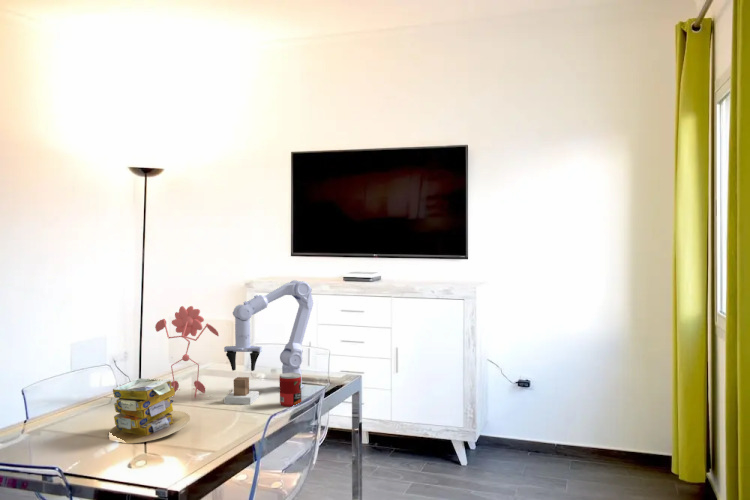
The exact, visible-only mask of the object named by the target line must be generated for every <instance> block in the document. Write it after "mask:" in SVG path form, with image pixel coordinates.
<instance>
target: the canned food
mask: <svg viewBox="0 0 750 500" xmlns="http://www.w3.org/2000/svg"><path fill="white" fill-rule="evenodd" d="M300 402H301V403H302V388H301V374H299V373H283V374H282V373H281V374H279V403H280V406H281V407H285V408H286V407H287V408H292V407H291V406H293V405H296V404H298V403H300Z"/></svg>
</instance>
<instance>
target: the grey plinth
mask: <svg viewBox="0 0 750 500" xmlns="http://www.w3.org/2000/svg"><path fill="white" fill-rule="evenodd" d="M259 394H260V392H259V391H257V390H249V394H247V395H246V396H234V390H233V391H232V392H229V393H227V395H226V396H224V397H223V401H224V403H223V404H224V405H251V404H253V403H254V402H255V401H257V400H258V399H259V398H260V395H259Z"/></svg>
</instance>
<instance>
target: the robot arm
mask: <svg viewBox="0 0 750 500" xmlns="http://www.w3.org/2000/svg"><path fill="white" fill-rule="evenodd" d="M312 290H313V289H312V287H311V286H310V285H309V282H307V281H304V280H302V281H299V280H296V279H294V280H293V279H292V280H291V281H290V282H286V283H285V284H283V285H281V286H279V287H277V288H275V289H274V290H272V291H270V292H268V293H267V294H266V295H261V294H260V295H258V294H256V295H254V296H253V298H251V299H249V300H248V301H246V300H244V302H243V304H238V305H236V306H235V307H234V309H233V311H232V315H233V317H234V320H235V321H234V323H235V324H234V330H235V331H234V339H235V341H234V342H235V344H234V345H232V346H231V345H230V346H229V345H227V346H224V347H223V349H224V350H223V351H224V353H225V356H226V357H227V359H228V361H229V363H230V367H231V370H232V372H233V371H236V368H237V367H236V366H237V365H236V364H237V363H236V359H237V353H238V352H239V353H240V352H241V353H242V352H243V353H249V356H250V370H251V372H254V371H255V369H256V363H257V361H258V358H259V356H260V353H261V352H262V351H263V350H262V349H263V347H262V346H259V345H258V346H257V345H256V346H255V345H251V322H250V321H251V319H252V316H254V315H255V314H257V313H259V312H262V311H263V310H265V309H267V308H268V305H269V304H270V303H273V302H274V301H276V300H279V299H280V298H282V297H284V296H292V297H293V298H294V299H295V300H296V302H297V303H298V308H297V313H296V316H295V319H294V322H293V325H292V329H291V333H290V336H289V339H288V342H287V343H286V344H285V345H284V349H283V350H282V352H281V353H280V355H279V361H280V362H281V364H282V367H281V369H282V370H281V371H282V373H281V374H283V373H299V374H301V389H302V388H304V387H305V384H303V383H302V380H303V378H302V377H303V376H302V369H301V365H302V362H303V347H302V344H303V341H304V337H305V333H306V332H307V331H306V330H307V327H308V323H309V321H310V317H311V312H312V309H313V307H314V300H313V296H312V295H313V294H312Z"/></svg>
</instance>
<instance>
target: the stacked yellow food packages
mask: <svg viewBox="0 0 750 500" xmlns="http://www.w3.org/2000/svg"><path fill="white" fill-rule="evenodd" d="M171 382H172V381H171V380H170V379H168V378H167V379H166V378H165V379H156V378H153V379H151V378H140V377H139V378H135V379H134V380H130V381H128V382H126V383H122V384H119V386H118V385H117V386H116V387H114V388H112V392H113V397H114V398H115V399H116V400H115V402H114V410H115V413H117V414H115V415H114V416H113V418H114V424H115V426H114V427H112V428H111V429H110V430H109V431H108V433H109V432H110V433H112V435H113V436H116V437H117V438H120V439H122V440H124V441H125V442H126V443H125V444H137V443H138V444H139V443H145V442H151V441H154V440H158V439H161V438H164V437H167V436H170V435H171V434H174V433H176V432H178V431H180V430H181V429H183V428H184V427H186V426H187V425H188V424H189V422H190V421H191V416H190V414H188V413H187V412H186V411H181V410H174V407H173V402H174V400H173V399H171V398H172V396H173V397H174V396H175V395H176V392H175V391H174V387H172V386H171Z"/></svg>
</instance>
